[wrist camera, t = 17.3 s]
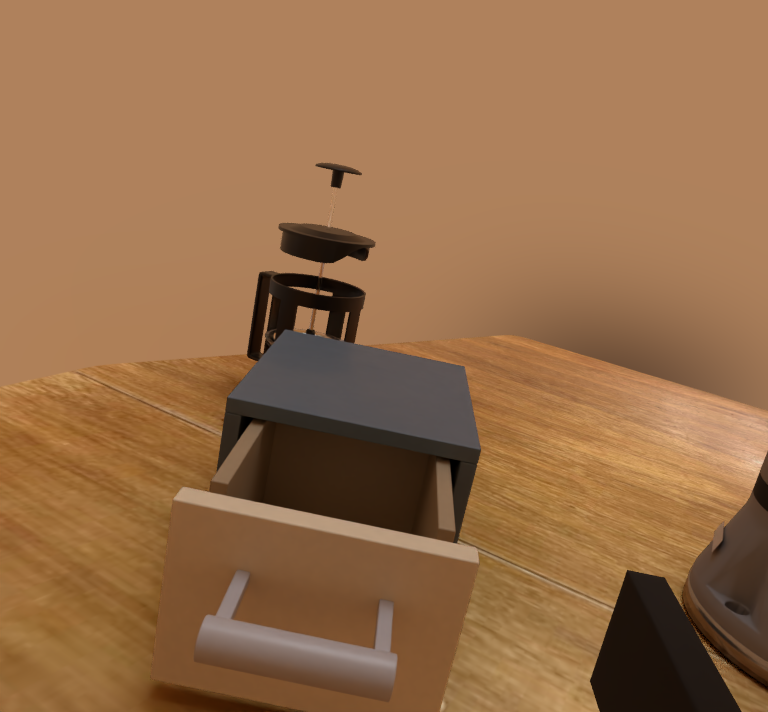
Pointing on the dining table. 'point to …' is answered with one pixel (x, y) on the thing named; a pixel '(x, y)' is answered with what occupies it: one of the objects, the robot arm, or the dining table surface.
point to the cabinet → (361, 401)
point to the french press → (310, 280)
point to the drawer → (316, 576)
